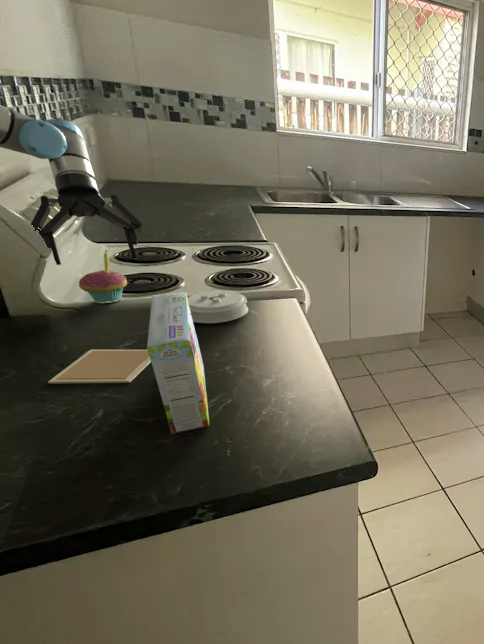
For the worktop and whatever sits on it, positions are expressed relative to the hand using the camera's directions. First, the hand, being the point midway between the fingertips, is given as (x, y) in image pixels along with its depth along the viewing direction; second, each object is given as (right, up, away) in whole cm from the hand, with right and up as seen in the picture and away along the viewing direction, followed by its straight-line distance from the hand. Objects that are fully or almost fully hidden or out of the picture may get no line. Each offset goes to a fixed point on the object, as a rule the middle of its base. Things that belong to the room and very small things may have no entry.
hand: (97, 258), depth 110 cm
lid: (+28, -14, 0) cm, 31 cm away
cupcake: (+1, -10, +2) cm, 10 cm away
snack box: (+41, -29, -30) cm, 59 cm away
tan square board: (+23, -24, -24) cm, 40 cm away
